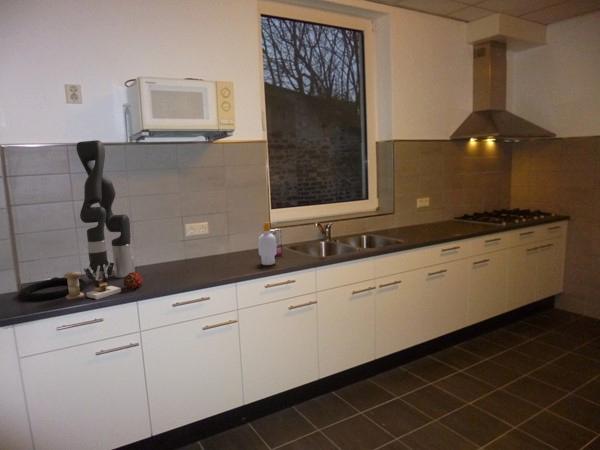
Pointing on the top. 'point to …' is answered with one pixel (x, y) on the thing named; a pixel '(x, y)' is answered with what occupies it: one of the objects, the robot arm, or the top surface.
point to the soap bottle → (267, 246)
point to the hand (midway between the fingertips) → (101, 286)
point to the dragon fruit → (133, 280)
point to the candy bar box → (277, 240)
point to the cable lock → (55, 281)
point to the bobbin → (73, 285)
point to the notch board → (109, 291)
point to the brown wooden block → (101, 286)
